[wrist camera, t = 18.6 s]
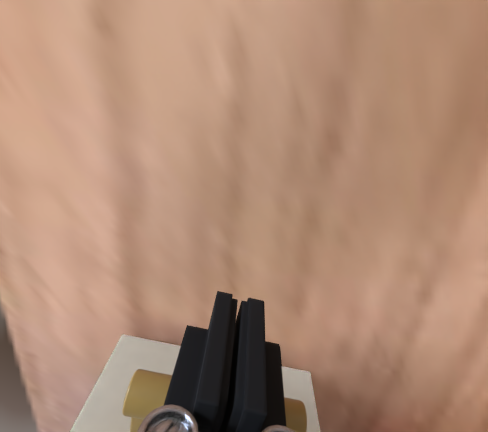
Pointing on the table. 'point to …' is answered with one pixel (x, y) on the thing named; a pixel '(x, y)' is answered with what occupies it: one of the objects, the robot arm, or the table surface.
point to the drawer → (156, 387)
